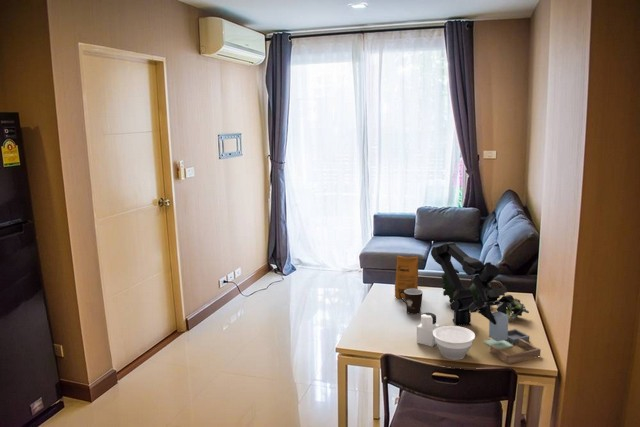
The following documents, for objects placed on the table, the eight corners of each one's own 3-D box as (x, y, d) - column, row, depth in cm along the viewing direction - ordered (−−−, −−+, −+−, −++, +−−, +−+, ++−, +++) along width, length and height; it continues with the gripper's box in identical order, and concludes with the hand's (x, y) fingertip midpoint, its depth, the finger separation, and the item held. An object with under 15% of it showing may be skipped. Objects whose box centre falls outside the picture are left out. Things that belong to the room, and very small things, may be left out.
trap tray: (499, 336, 206) (500, 332, 205) (515, 333, 208) (515, 328, 208) (513, 344, 198) (513, 339, 198) (529, 341, 201) (529, 336, 200)
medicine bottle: (424, 336, 208) (424, 309, 206) (440, 340, 204) (440, 313, 202) (416, 342, 203) (416, 315, 201) (432, 347, 199) (432, 318, 196)
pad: (483, 342, 201) (483, 341, 201) (499, 339, 204) (499, 337, 203) (496, 350, 194) (496, 349, 193) (513, 346, 196) (513, 345, 196)
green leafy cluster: (515, 327, 227) (532, 308, 224) (512, 332, 218) (530, 312, 215) (494, 310, 231) (511, 291, 228) (491, 314, 222) (509, 294, 219)
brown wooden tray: (490, 352, 192) (490, 345, 192) (520, 345, 197) (520, 338, 196) (508, 364, 182) (508, 356, 182) (540, 356, 187) (540, 349, 187)
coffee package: (397, 292, 264) (396, 252, 260) (420, 295, 259) (420, 254, 255) (392, 298, 255) (392, 257, 251) (416, 301, 250) (416, 259, 246)
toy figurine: (443, 309, 243) (497, 308, 236) (440, 272, 240) (494, 269, 233) (444, 302, 252) (496, 301, 245) (441, 266, 249) (493, 264, 242)
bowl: (426, 357, 190) (426, 337, 188) (440, 342, 203) (441, 322, 201) (467, 368, 181) (467, 346, 179) (480, 350, 194) (480, 330, 192)
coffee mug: (426, 313, 234) (426, 292, 232) (410, 316, 231) (410, 295, 229) (413, 305, 245) (412, 285, 243) (397, 308, 242) (397, 288, 240)
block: (488, 336, 200) (489, 313, 198) (499, 334, 201) (499, 311, 200) (497, 341, 195) (498, 317, 193) (507, 339, 197) (508, 315, 195)
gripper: (474, 282, 195) (491, 318, 186) (512, 275, 201) (531, 310, 192) (461, 294, 203) (477, 330, 195) (498, 288, 209) (516, 322, 201)
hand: (501, 323), depth 196 cm, fingers closed on block, 5 cm apart
